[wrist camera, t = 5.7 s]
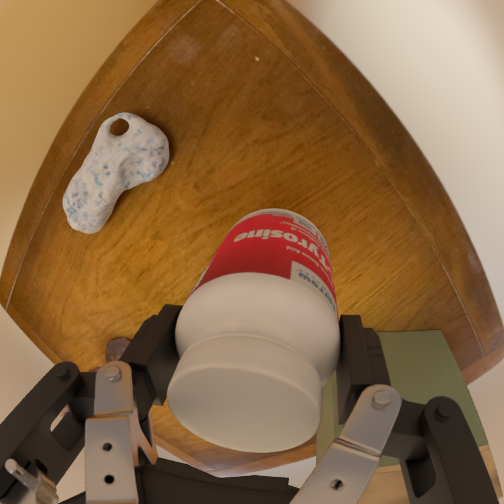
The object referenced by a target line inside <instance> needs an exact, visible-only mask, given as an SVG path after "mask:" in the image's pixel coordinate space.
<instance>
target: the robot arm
mask: <svg viewBox="0 0 504 504" xmlns="http://www.w3.org/2000/svg"><path fill="white" fill-rule="evenodd" d="M182 308H183V306H181V305H170V304H166V305H164V307H163V308H162V310H161V311H160V313H159V314H158V315H152V316H151V317H150V318H148V319H147V320H146V321H144V323H143V324H142V326H141V327H140V328H139V331H137V333H136V334H135V336H134V338H133V339H132V340H131V342H130V343H129V345H128V346H127V348H126V349H125V351H124V352H123V354H122V355H121V357H120V358H119V360H118V361H110V362H108V363H106V364H104V365H102V366H101V367H100V368H99V370H98V371H97V372H80V371H79V369H78V367H77V365H76V364H74V363H72V362H61V363H58V364H57V365H55V366H54V367H53V368H52V369H51V370H50V371H49V372H48V373H47V374H46V375H45V376H44V377H43V378H42V379H41V380H40V381H39V382H38V383H37V384H36V385H35V387H34V388H33V389H32V390H31V391H30V392H29V393H28V394H27V395H26V396H25V398H23V399H22V401H21V402H20V403H19V404H18V405H17V406H16V407H15V408H14V410H13V411H12V412H11V413H10V414H9V415H8V416H7V417H6V418H5V420H4V421H3V422H2V423H1V424H0V504H56V503H57V502H58V500H59V497H58V495H57V494H56V485H57V484H58V483H59V481H60V480H61V478H62V477H63V476H64V474H65V472H66V471H67V470H68V468H69V467H70V466H71V464H72V463H73V461H74V460H75V459H76V457H77V456H78V454H79V453H80V452H81V450H82V449H83V447H84V446H85V490H86V491H84V492H82V493H80V494H78V495H76V496H74V497H71V498H70V499H67V500H65V501H63V502H60V503H58V504H358V502H359V500H360V499H361V497H362V495H363V493H364V491H365V490H366V488H367V486H368V484H369V482H370V480H371V478H372V476H373V474H374V472H375V470H376V468H377V466H378V464H379V462H380V459H381V456H382V455H384V456H389V457H394V458H398V459H399V463H400V467H401V470H402V474H403V478H404V482H405V486H406V490H407V494H408V499H409V503H410V504H499V502H498V498H497V495H496V492H495V489H494V487H493V484H492V481H491V478H490V476H489V473H488V470H487V468H486V465H485V463H484V460H483V458H482V455H481V453H480V450H479V448H478V446H477V443H476V441H475V439H474V436H473V434H472V432H471V430H470V427H469V425H468V423H467V421H466V419H465V416H464V414H463V412H462V410H461V408H460V406H459V405H458V403H457V402H456V401H454V400H453V399H451V398H449V397H446V396H437V397H434V398H432V399H430V400H429V401H428V402H427V404H426V405H425V404H420V403H415V402H410V401H407V400H404V399H402V398H401V396H400V394H399V393H398V392H397V390H395V389H394V388H392V386H391V382H390V377H389V373H388V369H387V365H386V361H385V357H384V353H383V349H382V345H381V341H380V337H379V336H378V334H377V333H376V332H375V331H374V330H373V329H372V328H363V326H362V322H361V317H360V315H341V316H340V321H339V328H340V337H341V340H340V343H341V349H340V356H339V361H338V364H337V366H336V383H337V401H338V425H344V426H343V428H342V430H341V432H340V433H339V435H338V436H337V438H336V439H334V440H333V441H332V443H331V444H330V446H329V447H328V449H327V450H326V452H325V453H324V455H323V457H322V458H321V460H320V461H319V463H318V464H317V466H316V467H315V469H314V470H313V472H312V473H311V475H310V476H309V477H308V479H307V480H306V481H305V483H304V484H303V486H302V487H301V488H300V489H299V488H297V487H293V486H290V485H288V481H289V478H284V477H269V476H259V475H251V476H240V477H226V478H219V477H215V476H213V475H210V474H208V473H206V472H203V471H201V470H199V469H197V468H194V467H192V466H190V465H188V464H184V463H179V462H175V461H171V460H167V459H163V458H159V457H158V454H157V450H156V444H155V437H154V431H153V424H152V416H151V412H150V409H151V406H152V404H154V405H159V406H163V404H164V402H165V399H166V397H167V390H168V386H169V384H170V381H171V379H172V377H173V374H174V372H175V370H176V367H177V365H178V363H179V361H180V357H179V355H178V352H177V348H176V343H175V329H176V324H177V320H178V317H179V314H180V312H181V310H182ZM64 407H66V408H67V410H68V412H67V413H66V415H65V416H64V417H63V418H62V420H61V421H60V422H59V424H58V425H57V426H56V427H55V428H54V430H53V431H52V432H51V431H50V427H51V424H52V422H53V421H54V420H55V418H56V417H57V416H58V415H59V414H60V412H61V411H62V410H63V409H64Z"/></svg>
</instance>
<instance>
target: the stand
mask: <svg viewBox="0 0 504 504" xmlns="http://www.w3.org/2000/svg"><path fill="white" fill-rule="evenodd" d="M376 333H377V334H378V336H379V337H380V341H381V345H382V349H383V353H384V357H385V361H386V365H387V369H388V373H389V377H390V382H391V386H392V388H394V389H395V390H397V392H398V393H399V394H400V396H401V398H402V399H404V400H407V401H410V402H415V403H420V404H425V405H426V404H427V402H428V401H429V400H430V399H432V398H434V397H437V396H446V397H449V398H451V399H453V400H454V401H456V402H457V403H458V405H459V406H460V408H461V410H462V412H463V414H464V416H465V419H466V421H467V423H468V425H469V427H470V430H471V432H472V434H473V436H474V439H475V441H476V443H477V446H478V447H481V446H484V445H487V444H488V441H487V438H486V435H485V432H484V429H483V426H482V424H481V420H480V418H479V415H478V412H477V410H476V407H475V405H474V402H473V400H472V397H471V395H470V392H469V390H468V388H467V385H466V383H465V381H464V378H463V376H462V374H461V371H460V369H459V367H458V365H457V363H456V361H455V358H454V356H453V354H452V352H451V350H450V348H449V346H448V344H447V342H446V340H445V338H444V336H443V334H442V332H441V330H424V331H401V332H376ZM322 388H323V400H322V414H321V422H320V426H319V428H318V430H317V451H316V466H317V464H318V463H319V461H320V460H321V458H322V457H323V455H324V453H325V452H326V450H327V449H328V447H329V446H330V444H331V443H332V441H333V440H334V439H336V438H337V436H338V435H339V433H340V432H341V430H342V428H343V426H344V425H338V401H337V383H336V369H335V371H334V372H333V374H332V376H331V378H330V379H329V380H328V381H327V383H326V384H325V385H324V386H323V387H322ZM398 464H400V463H399V459H398V458H394V457H389V456H384V455H382V456H381V459H380V462H379V464H378V466H377V467H382V466H391V465H398Z"/></svg>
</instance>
